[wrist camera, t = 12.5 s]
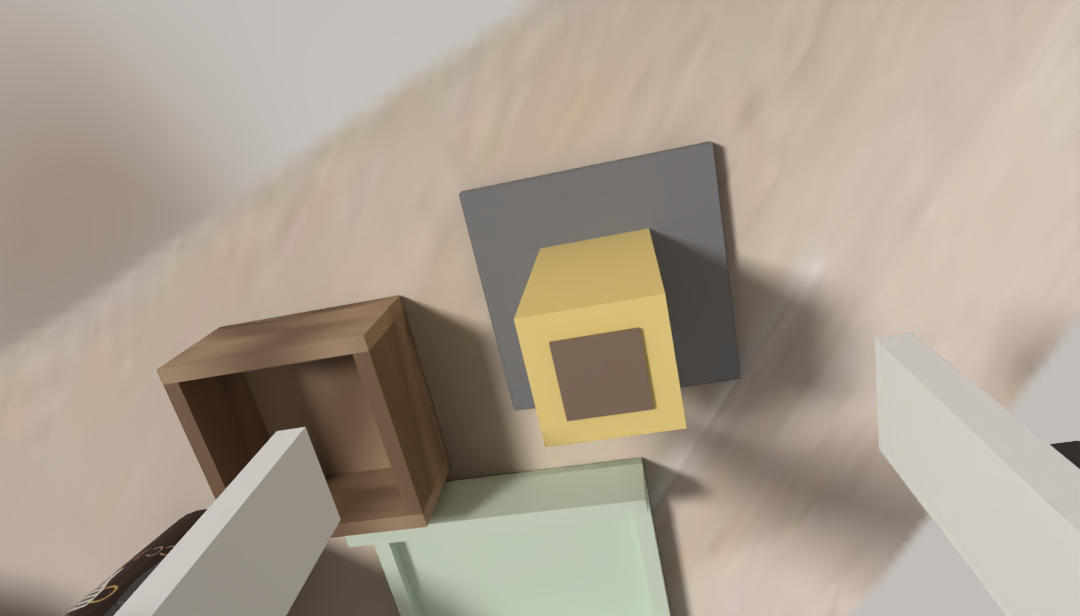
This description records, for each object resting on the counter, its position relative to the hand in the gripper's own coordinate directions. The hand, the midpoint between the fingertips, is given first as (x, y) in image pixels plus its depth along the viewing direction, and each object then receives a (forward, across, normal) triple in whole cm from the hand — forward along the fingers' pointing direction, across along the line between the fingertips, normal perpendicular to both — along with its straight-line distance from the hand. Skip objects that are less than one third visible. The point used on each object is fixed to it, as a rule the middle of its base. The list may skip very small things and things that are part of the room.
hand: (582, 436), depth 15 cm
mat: (+10, +1, 0) cm, 10 cm away
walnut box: (+11, -11, -3) cm, 16 cm away
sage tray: (+10, -5, -12) cm, 17 cm away
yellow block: (+10, +1, 0) cm, 10 cm away
